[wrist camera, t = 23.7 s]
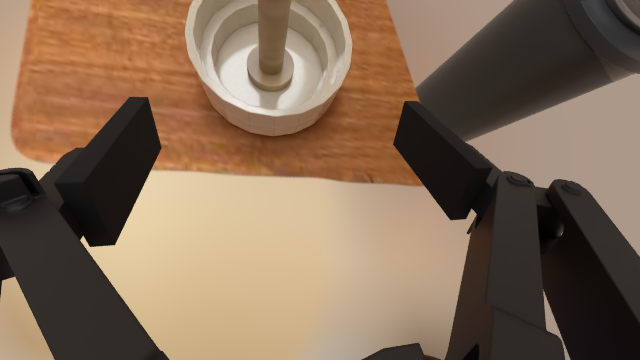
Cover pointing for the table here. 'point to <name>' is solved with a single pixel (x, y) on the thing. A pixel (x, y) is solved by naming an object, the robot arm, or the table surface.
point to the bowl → (242, 36)
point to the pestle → (271, 48)
